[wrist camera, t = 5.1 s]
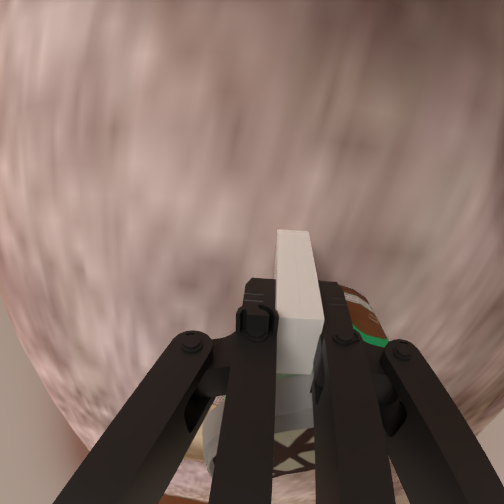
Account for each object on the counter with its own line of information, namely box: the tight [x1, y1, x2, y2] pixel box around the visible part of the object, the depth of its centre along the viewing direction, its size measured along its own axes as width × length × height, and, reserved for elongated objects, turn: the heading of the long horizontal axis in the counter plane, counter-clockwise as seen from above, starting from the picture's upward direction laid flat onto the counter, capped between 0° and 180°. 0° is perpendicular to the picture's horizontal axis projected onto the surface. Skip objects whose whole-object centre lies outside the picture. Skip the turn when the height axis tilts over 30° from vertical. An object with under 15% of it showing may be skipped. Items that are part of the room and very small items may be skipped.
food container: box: [202, 285, 389, 478], centre depth 15 cm, size 12×6×10 cm, turn 141°
